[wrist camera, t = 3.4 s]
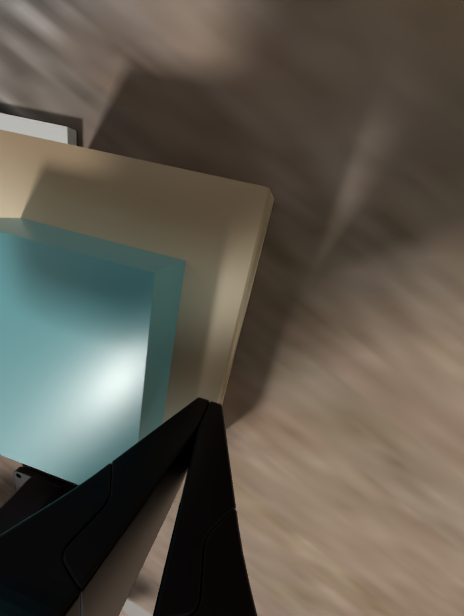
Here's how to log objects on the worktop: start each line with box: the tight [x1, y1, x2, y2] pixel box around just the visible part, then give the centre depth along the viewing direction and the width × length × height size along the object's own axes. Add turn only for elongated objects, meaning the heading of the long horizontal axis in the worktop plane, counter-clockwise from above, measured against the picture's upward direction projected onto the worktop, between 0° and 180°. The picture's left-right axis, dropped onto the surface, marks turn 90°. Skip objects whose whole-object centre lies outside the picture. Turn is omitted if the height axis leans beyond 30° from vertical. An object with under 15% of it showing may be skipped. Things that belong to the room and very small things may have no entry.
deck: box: [0, 130, 274, 503], centre depth 11 cm, size 14×9×4 cm, turn 168°
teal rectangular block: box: [0, 218, 186, 485], centre depth 9 cm, size 9×6×2 cm, turn 168°
